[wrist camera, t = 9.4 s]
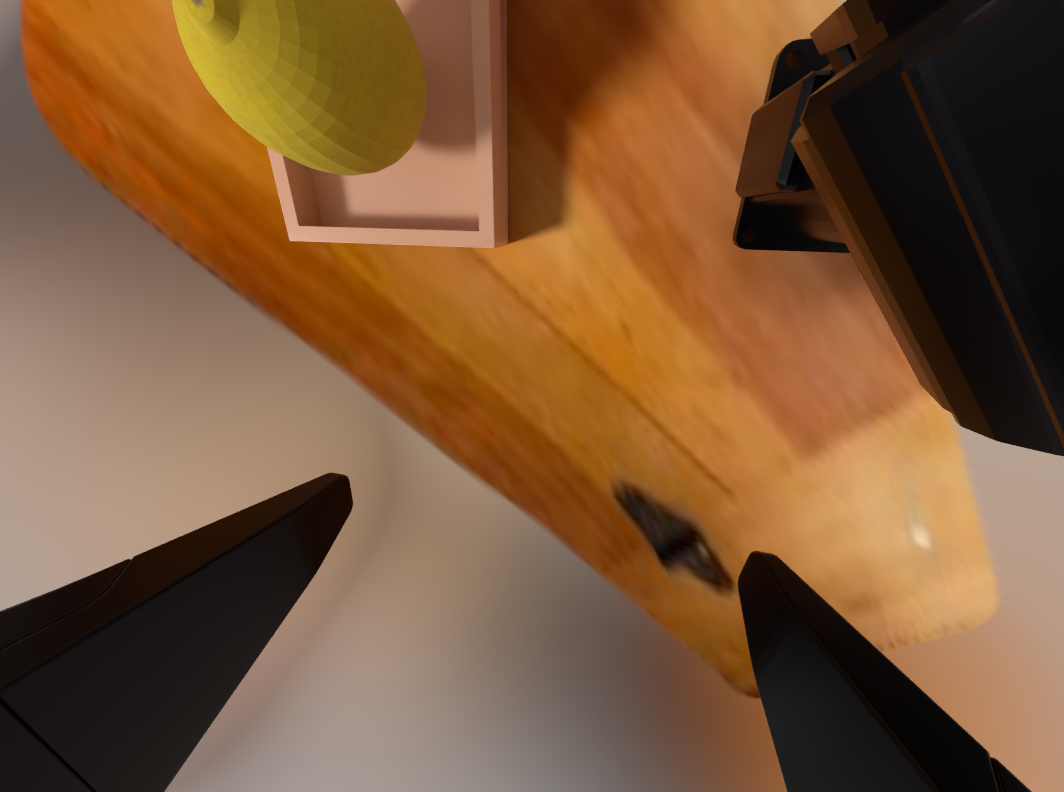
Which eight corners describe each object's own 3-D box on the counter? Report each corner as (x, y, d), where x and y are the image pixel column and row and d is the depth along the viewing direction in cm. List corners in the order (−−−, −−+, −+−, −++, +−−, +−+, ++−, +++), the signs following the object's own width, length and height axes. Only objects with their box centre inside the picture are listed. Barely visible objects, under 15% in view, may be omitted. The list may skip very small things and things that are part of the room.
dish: (506, -85, 13) (485, -149, 11) (508, 243, 17) (494, 248, 15) (267, -63, 14) (204, -115, 12) (327, 237, 19) (289, 240, 16)
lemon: (486, 91, 14) (367, -37, 7) (410, 213, 16) (263, 210, 9) (367, -34, 13) (90, -327, 6) (305, 115, 16) (52, 29, 8)
